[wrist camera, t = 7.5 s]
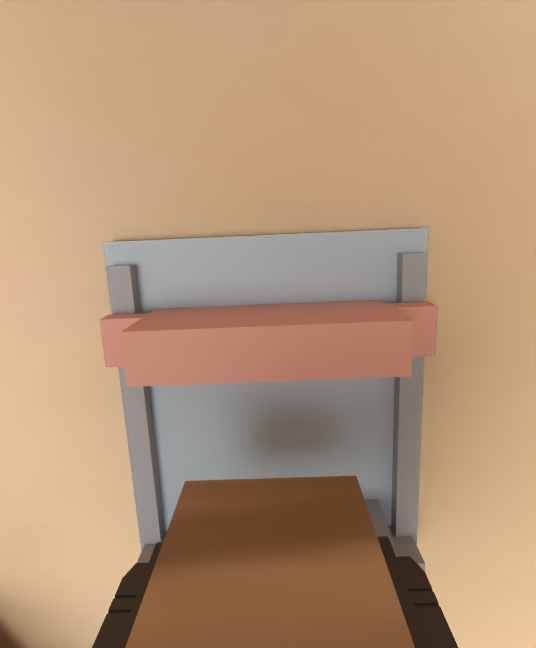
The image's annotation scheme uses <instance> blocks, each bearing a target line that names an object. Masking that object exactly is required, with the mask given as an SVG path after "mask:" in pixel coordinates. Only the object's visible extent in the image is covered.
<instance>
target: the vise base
mask: <svg viewBox="0 0 536 648" xmlns="http://www.w3.org/2000/svg"><path fill="white" fill-rule="evenodd" d="M428 231H429V228H410V229H387V230H364V231H342V232H319V233H297V234H274V235H251V236H229V237H206V238H183V239H161V240H138V241H116V242H103V244H104V252H105V260H106V271H107V279H108V287H109V295H110V303H111V311H112V315H115V314H140V313H150V312H151V311H153V310H155V309H173V308H198V307H223V306H247V305H272V304H297V303H321V302H346V301H371V300H382V301H384V302H385V303H412V302H426V284H427V258H428ZM423 363H424V355H419V356H412V377H386V378H358V379H331V380H304V381H276V382H249V383H222V384H194V385H167V386H140V387H127V382H126V373H125V367H119V375H120V383H121V391H122V399H123V407H124V414H125V422H126V430H127V438H128V446H129V454H130V462H131V470H132V478H133V486H134V494H135V502H136V510H137V518H138V526H139V534H140V542H141V550H142V552H141V555H140V557H139V559H138V562H137V563H149V560H150V558H151V555H152V553H153V550H154V547H155V545H156V543H157V542H163V541H164V538H165V536H166V533H167V530H168V527H169V524H170V522H171V519H172V516H173V513H174V510H175V508H176V505H177V502H178V499H179V497H180V494H181V491H182V488H183V485H184V483H185V481H195V480H228V479H261V478H294V477H327V476H357V479H358V482H359V485H360V488H361V491H362V494H363V497H364V500H365V503H366V505H367V508H368V511H369V514H370V517H371V520H372V523H373V526H374V529H375V532H376V535H377V536H388V538H389V540H390V542H391V545H392V547H393V550H394V553H395V555H396V557H400V556H410V557H411V558H412V559H413V560H414V561H415V562H416V563H417V564H418V565H419V566H420V567H421V568H422V569H423V570H424V572H425V563H424V561H423V558H422V556H421V554H420V552H419V550H418V547H417V521H418V495H419V468H420V442H421V416H422V389H423Z"/></svg>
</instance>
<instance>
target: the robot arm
mask: <svg viewBox="0 0 536 648" xmlns="http://www.w3.org/2000/svg"><path fill="white" fill-rule="evenodd" d="M377 538H378V541H379V544H380V547H381V550H382V553H383V556H384V558H385V561H386V564H387V567H388V570H389V573H390V576H391V579H392V582H393V585H394V588H395V591H396V594H397V597H398V600H399V603H400V606H401V608H402V611H403V614H404V617H405V620H406V623H407V626H408V629H409V632H410V635H411V638H412V641H413V644H414V647H415V648H458V646H457V644H456V641H455V639H454V637H453V635H452V632H451V630H450V628H449V626H448V623H447V621H446V619H445V617H444V614H443V612H442V610H441V608H440V607H439V604H438V601H437V599H436V596H435V594H434V592H432V587H431V585H430V583H429V581H428V578H427V576H426V574H425V572H424V570H423V569H422V568H421V567H420V566H419V565H418V564H417V563H416V562H415V561H414V560H413V559H412V558H411V557H410V556H400V557H396V555H395V553H394V550H393V547H392V545H391V542H390V540H389V538H388V536H377ZM162 544H163V542H157V543H156V545H155V547H154V550H153V553H152V555H151V558H150V560H149V563H136V564H135V565H134V566H133V567H132V568H131V569H130V571H129V572H128V573H127V574H126V575H125V576H124V577H123V578H122V581H121V583H120V585H119V587H118V590H117V592H116V594H115V599H113V601H112V603H111V606H110V608H109V612H108V614H107V615H106V617H105V619H104V622H103V624H102V626H101V629H100V631H99V633H98V635H97V638H96V640H95V642H94V645H93V647H92V648H125V647H126V644H127V642H128V639H129V636H130V633H131V630H132V628H133V625H134V622H135V619H136V616H137V614H138V611H139V608H140V605H141V603H142V600H143V597H144V594H145V591H146V589H147V586H148V583H149V580H150V577H151V575H152V572H153V569H154V566H155V563H156V561H157V558H158V555H159V552H160V550H161V547H162Z"/></svg>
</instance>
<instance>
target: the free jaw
mask: <svg viewBox="0 0 536 648" xmlns="http://www.w3.org/2000/svg"><path fill="white" fill-rule="evenodd" d="M436 322H437V306H436V305H434V304H432V303H429V302H412V303H385V302H384V301H382V300H371V301H346V302H321V303H297V304H272V305H247V306H223V307H198V308H173V309H155V310H153V311H151V312H150V313H140V314H115V315H108V316H106V317H104V318H102V319H100V326H101V334H102V341H103V349H104V357H105V364H106V367H125V373H126V382H127V387H140V386H167V385H194V384H222V383H249V382H276V381H304V380H331V379H358V378H386V377H412V356H419V355H435V345H436Z"/></svg>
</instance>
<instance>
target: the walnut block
mask: <svg viewBox="0 0 536 648" xmlns="http://www.w3.org/2000/svg"><path fill="white" fill-rule="evenodd" d="M125 648H415V647H414V644H413V641H412V638H411V635H410V632H409V629H408V626H407V623H406V620H405V617H404V614H403V611H402V608H401V606H400V603H399V600H398V597H397V594H396V591H395V588H394V585H393V582H392V579H391V576H390V573H389V570H388V567H387V564H386V561H385V558H384V556H383V553H382V550H381V547H380V544H379V541H378V538H377V535H376V532H375V529H374V526H373V523H372V520H371V517H370V514H369V511H368V508H367V505H366V503H365V500H364V497H363V494H362V491H361V488H360V485H359V482H358V479H357V476H327V477H294V478H261V479H228V480H195V481H185V483H184V485H183V488H182V491H181V494H180V497H179V499H178V502H177V505H176V508H175V510H174V513H173V516H172V519H171V522H170V524H169V527H168V530H167V533H166V536H165V538H164V541H163V544H162V547H161V550H160V552H159V555H158V558H157V561H156V563H155V566H154V569H153V572H152V575H151V577H150V580H149V583H148V586H147V589H146V591H145V594H144V597H143V600H142V603H141V605H140V608H139V611H138V614H137V616H136V619H135V622H134V625H133V628H132V630H131V633H130V636H129V639H128V642H127V644H126V647H125Z"/></svg>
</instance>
